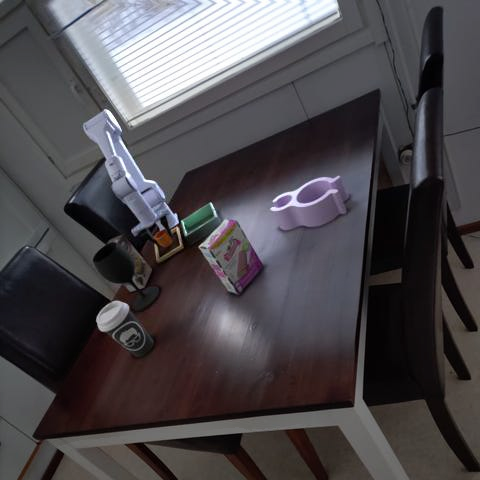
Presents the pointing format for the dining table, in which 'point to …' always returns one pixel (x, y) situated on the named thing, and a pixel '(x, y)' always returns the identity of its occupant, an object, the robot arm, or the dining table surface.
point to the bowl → (163, 238)
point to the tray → (172, 250)
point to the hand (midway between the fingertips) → (165, 240)
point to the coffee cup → (124, 328)
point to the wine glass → (122, 272)
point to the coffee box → (141, 266)
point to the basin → (200, 223)
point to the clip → (311, 204)
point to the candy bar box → (231, 256)
